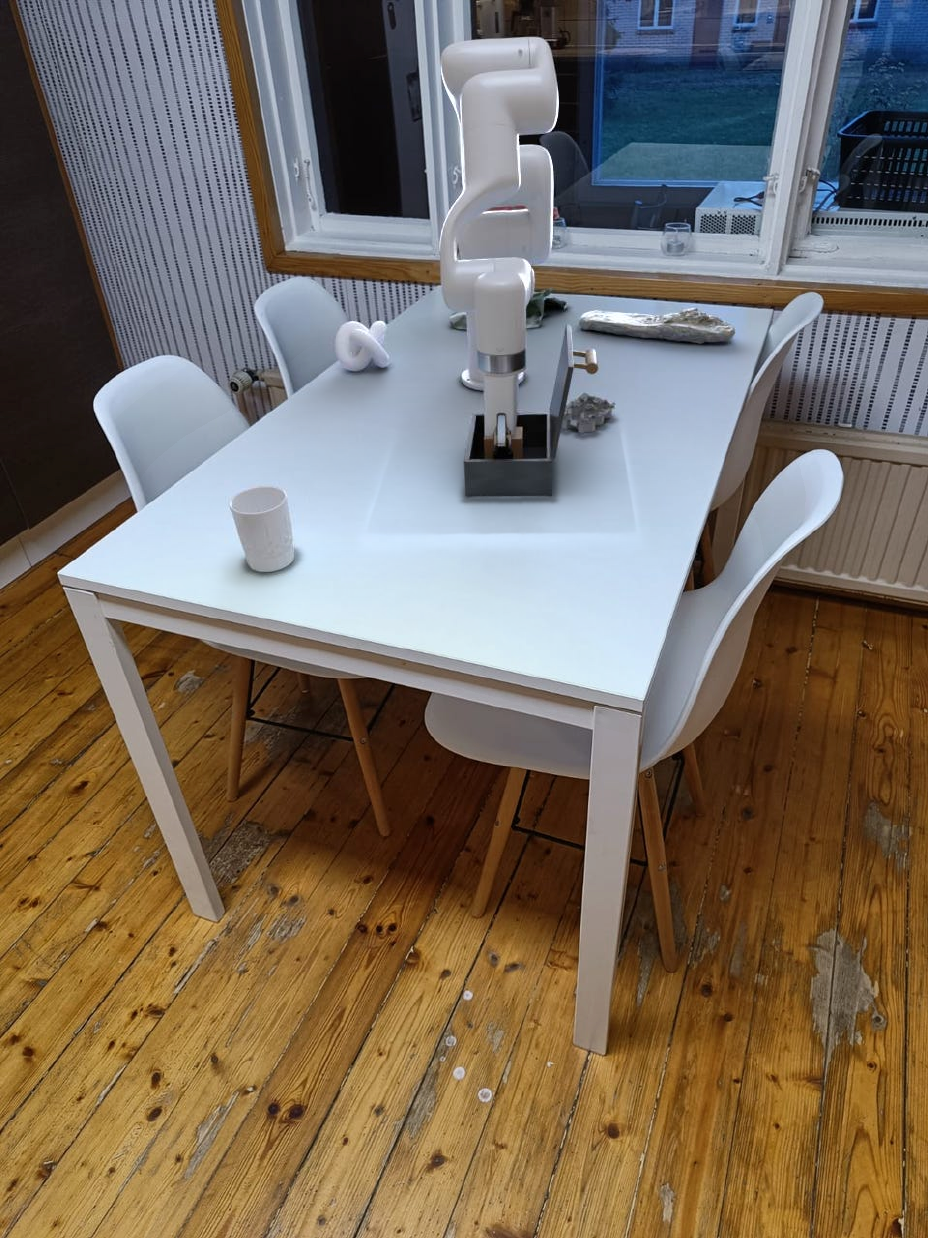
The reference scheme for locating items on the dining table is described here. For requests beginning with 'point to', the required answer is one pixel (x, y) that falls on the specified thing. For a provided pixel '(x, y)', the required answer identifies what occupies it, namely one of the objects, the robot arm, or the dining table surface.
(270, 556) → the white cup
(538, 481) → the chest
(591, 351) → the lid
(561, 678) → the dining table surface
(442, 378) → the dining table surface
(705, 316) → the long grey stone
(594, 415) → the grey rock
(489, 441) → the package
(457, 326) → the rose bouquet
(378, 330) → the white knot sculpture
